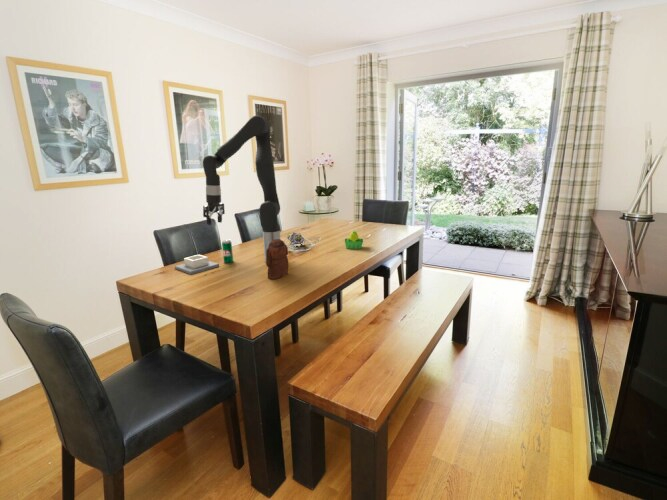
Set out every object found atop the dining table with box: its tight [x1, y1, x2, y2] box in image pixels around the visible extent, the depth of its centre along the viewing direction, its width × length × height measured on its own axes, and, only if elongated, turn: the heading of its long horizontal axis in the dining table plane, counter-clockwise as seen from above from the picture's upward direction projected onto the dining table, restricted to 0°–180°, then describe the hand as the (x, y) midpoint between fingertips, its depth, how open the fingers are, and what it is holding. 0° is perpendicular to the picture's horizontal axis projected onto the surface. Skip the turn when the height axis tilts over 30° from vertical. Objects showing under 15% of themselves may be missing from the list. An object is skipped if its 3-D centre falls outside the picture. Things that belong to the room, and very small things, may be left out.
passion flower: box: [287, 231, 307, 246], centre depth 221 cm, size 11×11×12 cm
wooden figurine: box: [265, 238, 289, 280], centre depth 167 cm, size 12×6×18 cm, turn 151°
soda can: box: [221, 239, 234, 264], centre depth 192 cm, size 5×5×12 cm
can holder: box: [174, 254, 220, 275], centre depth 184 cm, size 16×16×6 cm
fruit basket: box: [344, 230, 364, 250], centre depth 215 cm, size 11×9×11 cm
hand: (214, 223), depth 191 cm, fingers open, 8 cm apart
